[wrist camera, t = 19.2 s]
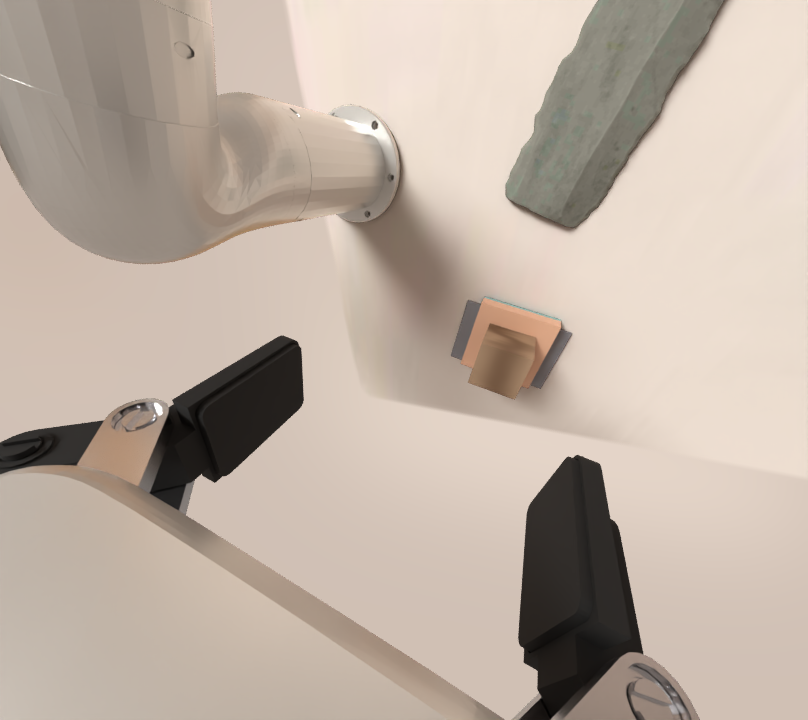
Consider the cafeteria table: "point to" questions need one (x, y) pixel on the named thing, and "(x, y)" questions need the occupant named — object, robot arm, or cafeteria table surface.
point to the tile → (516, 321)
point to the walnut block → (503, 361)
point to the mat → (467, 328)
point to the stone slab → (604, 102)
